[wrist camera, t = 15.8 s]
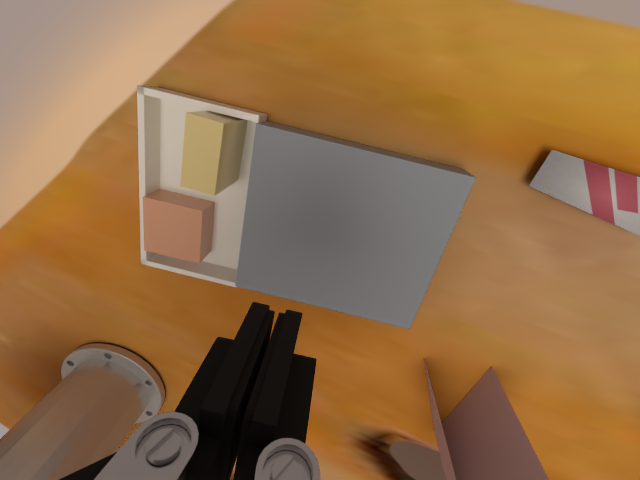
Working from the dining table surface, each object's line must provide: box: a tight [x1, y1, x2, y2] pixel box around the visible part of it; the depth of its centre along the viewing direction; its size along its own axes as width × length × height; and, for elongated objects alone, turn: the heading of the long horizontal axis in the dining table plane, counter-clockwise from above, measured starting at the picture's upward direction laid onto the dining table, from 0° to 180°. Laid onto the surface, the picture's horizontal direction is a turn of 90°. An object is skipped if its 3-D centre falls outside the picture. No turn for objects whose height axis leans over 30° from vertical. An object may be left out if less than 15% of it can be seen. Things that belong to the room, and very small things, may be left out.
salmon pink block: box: [143, 189, 215, 264], centre depth 28 cm, size 5×5×2 cm
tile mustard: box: [180, 111, 248, 196], centre depth 24 cm, size 5×5×2 cm
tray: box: [137, 86, 268, 288], centre depth 27 cm, size 15×9×2 cm, turn 167°
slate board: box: [235, 121, 476, 329], centre depth 27 cm, size 14×16×3 cm
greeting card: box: [424, 359, 549, 480], centre depth 28 cm, size 11×7×15 cm, turn 159°
